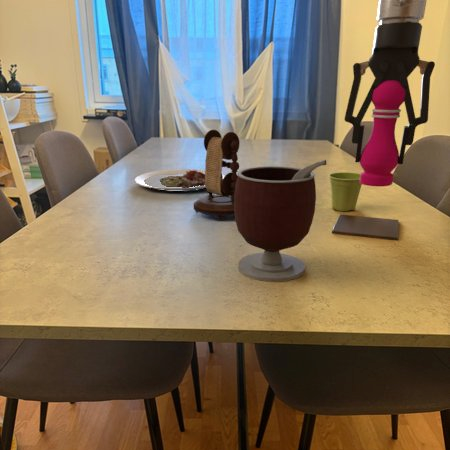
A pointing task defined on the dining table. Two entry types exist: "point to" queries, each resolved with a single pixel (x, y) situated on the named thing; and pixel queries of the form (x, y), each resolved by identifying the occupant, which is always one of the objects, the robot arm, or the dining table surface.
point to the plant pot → (344, 190)
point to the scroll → (219, 174)
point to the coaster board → (366, 227)
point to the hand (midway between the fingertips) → (378, 161)
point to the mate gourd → (274, 218)
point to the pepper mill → (382, 136)
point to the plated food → (177, 179)
